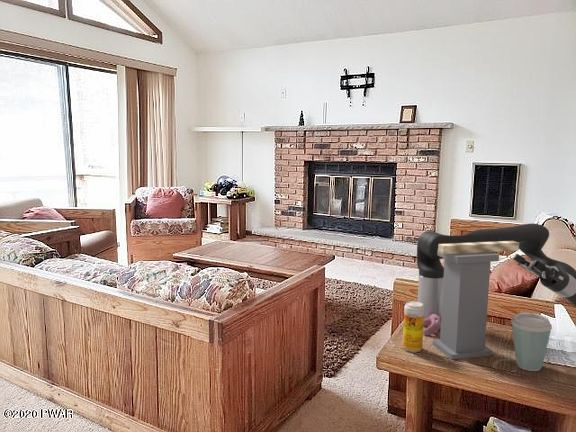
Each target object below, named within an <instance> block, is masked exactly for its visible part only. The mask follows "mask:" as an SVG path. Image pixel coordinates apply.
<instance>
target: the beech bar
mask: <svg viewBox="0 0 576 432" xmlns="http://www.w3.org/2000/svg"><path fill="white" fill-rule="evenodd" d="M519 250H520V249H519V242H515V241H497V242H474V243H452V244H438V252H439V253H442V254H458V253H478V252H496V253H498V251H499V252H516V251H519Z"/></svg>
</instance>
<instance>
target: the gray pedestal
mask: <svg viewBox="0 0 576 432" xmlns="http://www.w3.org/2000/svg"><path fill="white" fill-rule="evenodd" d="M437 255H438V256H440V257H443V258H444V262H443V263H444V264H443V267H444V278H443V296H442V315H441V329H440V335H439V338H440V339H434V340H432V346H434V347H435V348H436V349H437V350H439V351H440V352H441V353H443V354H444V355H445V356H446V357H447V358H449V359H451V360H460V359H468V358H469V359H470V358H478V357H488V356H493V350H492V349H490V348H489V347H488V346H486V336H487V335H486V334H487V333H486V332H487V319H488V307H489V305H488V304H489V293H490V292H489V289H490V278H491V277H490V276H491V274H490V273H491V263H493V262H499V259H500V254H498V253H492V252H478V253H458V254H442V253H439V252H438V251H437Z"/></svg>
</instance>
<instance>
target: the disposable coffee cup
mask: <svg viewBox="0 0 576 432" xmlns="http://www.w3.org/2000/svg"><path fill="white" fill-rule="evenodd" d="M510 323H511V327H512V338H513V345H514V353H515V354H514V355H515V362H516V364H517V367H518V368H520V369H521V370H525V371H529V372H538V371H540V370H541V369H542V367H543V365H544V361H545V356H546V351H547V348H548V345H549V339H550V335H551V331H552V329H553V325H552V323H551V322H550V319H548V317H546V316H544V315H542V314H538V313H533V312H520V313H519V312H518V313H516V314H515V315H514V316H513V318H511V320H510Z"/></svg>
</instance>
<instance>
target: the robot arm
mask: <svg viewBox="0 0 576 432" xmlns="http://www.w3.org/2000/svg"><path fill="white" fill-rule="evenodd" d="M549 238H550V230H549V229H548V228H547V227H546V226H544V225H542V224H539V223H524V224H520V225H515V226H514V225H513V226H508V227H507V226H506V227H500V228H498V227H497V228H481V229H475V230H471V231H469V232H467V233H465V234H462V235H460V234H459V235H451V234H450V235H447V234H441V233H439V232H435V231H434V230H433V231H432V230H426V231H424V232H422V233H421V234H420V235H419V237H418V240H417V244H416V264H417V265H416V266H417V268H418V285H417V302H420V303H422V304H423V306H424V320H425V319H426V318H428V317H429V316H430V315H433V314H434V315H438V316H439V317H440V323H441V315H442V296H443V278H444V265H443V264H442V262H441V260H442V259H445V258H443V257H440V256H438V255H437V251H438V244H452V243H474V242H497V241H515V242H519V250H520V251H521V252H522V253H523V254H524V255H525V256H527V257H528V258H529V259H531V260H529V259H527V258H526V257H523V256H522V255H520V254H518V253H515V255H514V256H513V260H514V261H515V262H516V263H517V265H518V266H520V267H521V268H524V269H525V270H526V271H528V272H529V273H532V274H534V275H535V276H536V277H538V278H539V281H540V284H541V285H542V286H544V287H545V288H547V289H548V290H550V291H551V292H553V293H555V294H556V295H558V296H561V297H563V299H566V300H567V301H569V302H570V303H571V304H572V305H573V306H574V308H576V269H575V268H574V267H572V266H571V265H570V264H568V263H567V262H564V261H560V260H557V259H554V258H551V257H548V256H547V254H546V253H544V252H543V248H544V247H545V245H546V243H547V241H548V239H549ZM498 252H500V251H498ZM498 252H492V253H495V254H497V253H498Z"/></svg>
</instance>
